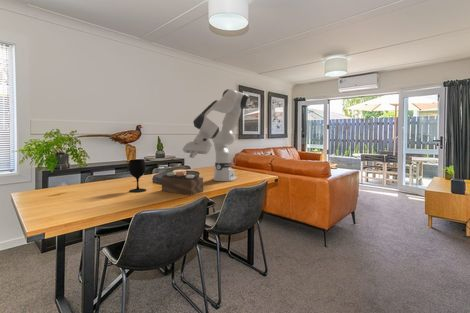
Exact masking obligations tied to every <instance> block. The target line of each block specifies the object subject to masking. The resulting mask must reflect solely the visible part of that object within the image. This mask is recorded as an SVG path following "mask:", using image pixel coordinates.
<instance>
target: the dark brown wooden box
mask: <svg viewBox="0 0 470 313" xmlns="http://www.w3.org/2000/svg"><path fill="white" fill-rule="evenodd" d="M166 191H167V192H168V193H175V194H179V193H180V195H186V196H187V195H188V196H193V195H197V194H200V193H202V192H204V177H200V176H194V178H191V179H190V178H186V175H184V176H176V174H175V176H167V174H164V175H162V176H161V192H166ZM167 192H166V193H167Z"/></svg>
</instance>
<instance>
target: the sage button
mask: <svg viewBox="0 0 470 313" xmlns="http://www.w3.org/2000/svg"><path fill="white" fill-rule="evenodd" d="M166 175H167V176H175V175H176V173H175V172H167V173H166Z"/></svg>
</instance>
